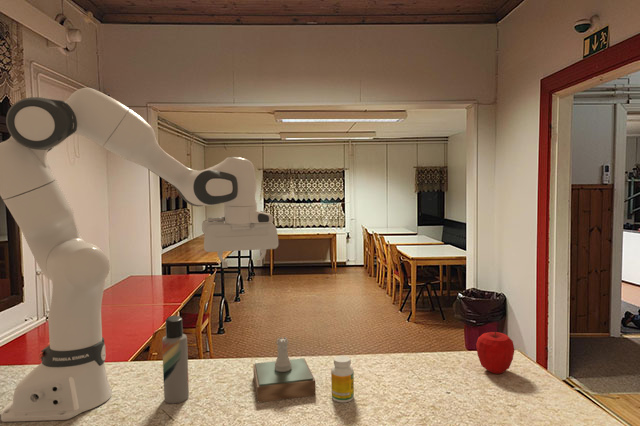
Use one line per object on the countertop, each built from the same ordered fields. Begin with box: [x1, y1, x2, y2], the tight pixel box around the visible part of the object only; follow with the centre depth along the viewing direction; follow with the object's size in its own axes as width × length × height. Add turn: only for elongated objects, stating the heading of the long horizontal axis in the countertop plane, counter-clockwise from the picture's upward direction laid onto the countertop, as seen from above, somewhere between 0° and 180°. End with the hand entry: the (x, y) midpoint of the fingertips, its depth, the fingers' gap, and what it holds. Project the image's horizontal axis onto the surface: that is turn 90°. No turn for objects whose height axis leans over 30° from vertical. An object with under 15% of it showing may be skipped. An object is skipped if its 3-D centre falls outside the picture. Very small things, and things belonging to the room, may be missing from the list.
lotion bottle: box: [161, 315, 190, 405], centre depth 104 cm, size 6×6×20 cm
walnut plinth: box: [252, 358, 317, 403], centre depth 110 cm, size 14×14×4 cm
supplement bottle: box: [330, 355, 355, 404], centre depth 103 cm, size 5×5×10 cm
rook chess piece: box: [275, 337, 292, 372], centre depth 111 cm, size 4×4×8 cm
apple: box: [475, 331, 515, 375], centre depth 117 cm, size 10×10×11 cm
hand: (242, 266), depth 120 cm, fingers open, 8 cm apart
